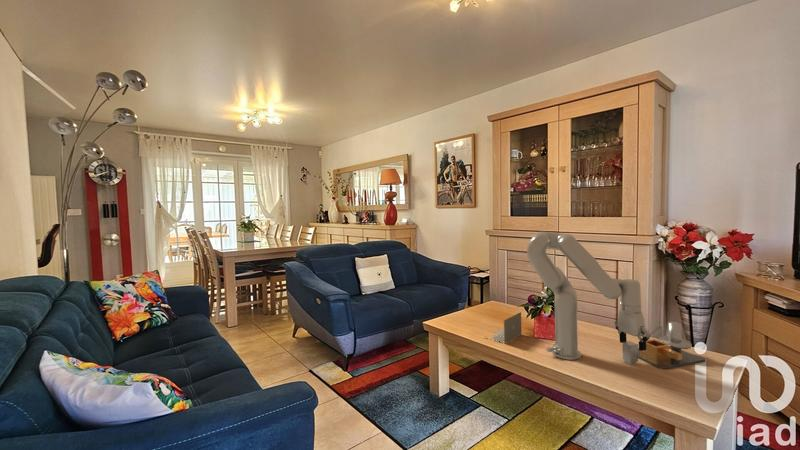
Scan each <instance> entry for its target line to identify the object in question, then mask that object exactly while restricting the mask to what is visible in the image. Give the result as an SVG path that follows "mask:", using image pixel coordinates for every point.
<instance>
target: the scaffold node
mask: <svg viewBox="0 0 800 450" xmlns="http://www.w3.org/2000/svg"><path fill="white" fill-rule="evenodd" d="M691 348H692V343H691V341H689V340H687V339H685V338H682V323H681V322H678V321H672V320H671V321H668V322H667V335H663V336H659V337H658V340H657V339H655V338H653V339H648V340H647V341H646V350H643V351H640V350H639V347H638V360H640V361H643V362H645V363H648V364H650V365H652V366H653V367H656V368H658V369H660V370H668V369H673V368H677V367H684V366H688V365H695V364H699V363H700V364H701V363H704V362H706V358H703V357H701V356H698V355H696V354H693V353H690V352H687V351H685V350H688V349H691Z"/></svg>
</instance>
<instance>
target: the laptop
mask: <svg viewBox="0 0 800 450" xmlns="http://www.w3.org/2000/svg"><path fill="white" fill-rule="evenodd" d="M498 331H499V332H498ZM522 331H523V330H522V312H518V313H516V314H515V315H512V316H510V317H508V318H506V319H504V320H503V328H499V329H498V330H497V331H494V332H492V333H493V334H494V333H495V334H496V335H497V336H496V335H493V336H494V337H492V338H493V339H494V341H493V342H497V343H499V341H500V342H501V343H500V344H503V343H504V344H503V345H505V343H506V344H507V342H508V343H509V342H511V341H513V340H514V339H516V338H518V337H519V336H521V335H522ZM496 332H497V333H496ZM499 333H500V335H499ZM503 333H504V334H503ZM501 334H502V335H503V336H504V337H503V336H502V335H501ZM500 336H501V337H500ZM517 336H518V337H517ZM515 337H516V338H515ZM492 338H491V339H492ZM512 339H513V340H512ZM496 340H497V341H496ZM510 340H511V341H510ZM503 341H504V342H503Z"/></svg>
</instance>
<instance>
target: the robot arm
mask: <svg viewBox="0 0 800 450" xmlns="http://www.w3.org/2000/svg"><path fill="white" fill-rule="evenodd" d="M547 250H557V251H560V252H561V253H562V254H563V255H564V256H565V257H566V259H568V261H569V262H570V263H572V264H573V266H575V268H576V269H577V270H578V271H579V272H580V273H581V274H582V275H583V276H584V277H585V278H586V279H587V280H588V281H589V282H590V283H591V284H592V286H594V288H596V290H597V291H598V292H599V293H601V295H603V296H604V297H605V298H606V299H608V300H616V299H618V298H620V299H619V300H620V302H619V306H620V308H619V311H618V316H617V321H614V323H613V324H614V325H615V328H616V330H617V333H618V334H619V335H618V337H619V343H622V344H623V342H626V341H628V340H627V335H629V336H633V337H637V339H638V340H639V341H638V348H639V350H640V351H643V350H646V341H647V340H651V339H650V337H651V336H652V333H651V332H650V331H649V330H648V329H646V324H645V318H644V314H643V312H642V296H641V295H642V294H641V282H640V281H639V280H637V279H631V278H630V279H629V278H626V279H620V278H619V279H618V278H612V277H611V276H610V275H609V274H608V273H607V272H606V271H605V270H604V269H603V268H602V266H601V265H600V264H599V262H598V261H597V259H596V258H595V257H594V256H593V255H592V254H591V253H590V252H589V251H588V250H587V249H586V248H585V247H584V246H582V244H581V243H580V242H579V241H578V240H577V239H576V238H575V237H574V235H572V234H570V233H561V232H552V231H551V232H550V231H549V232H548V231H539V232H536V233H535V234H534V235H532V237H531V238H530V240H529V242H528V245H527V247H526V255H527V258H528V261H529V262H530V264H531V265H532V267H533V269H534V271H535V272H536V273H537V275H538V277H539V278H540V280H541V281H542V283H543V284H544V286H545V287H547V288H548V289H550V290H551V292H552V293H553V295H554V325H555V326H554V328H555V329H554V333H555V337H554V338H555V343H554V344H553V346H552V347H546V351H547V353H551V354H553V355H554V356H555V357H556V358H559V359H563V360H570V361H571V360H572V361H573V360H575V361H576V360H579V359H581V358H582V352H581V351H579V349H578V347H579V346H578V342H579V341H578V296H577V291H576V289H575V288H574V286H573V285H572V284H571V282H570V281H569V279H568V277H567V276H566V275H565V273H564V272H563V271H562V269H560V268H559V266H555V264H554V263H553V262H552V260H551V258H550V257H549V256H548V254H547ZM553 355H552V356H553Z"/></svg>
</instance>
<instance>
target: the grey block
mask: <svg viewBox="0 0 800 450" xmlns="http://www.w3.org/2000/svg"><path fill="white" fill-rule="evenodd" d="M638 348H639V343H636V342H633V341H631V340H627V341H626V342H623V343H622V360H623V362H624V363H626V364H627V365H630V366H631V365H632V366H634V365H637V363H638V362H639V359H638Z"/></svg>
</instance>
